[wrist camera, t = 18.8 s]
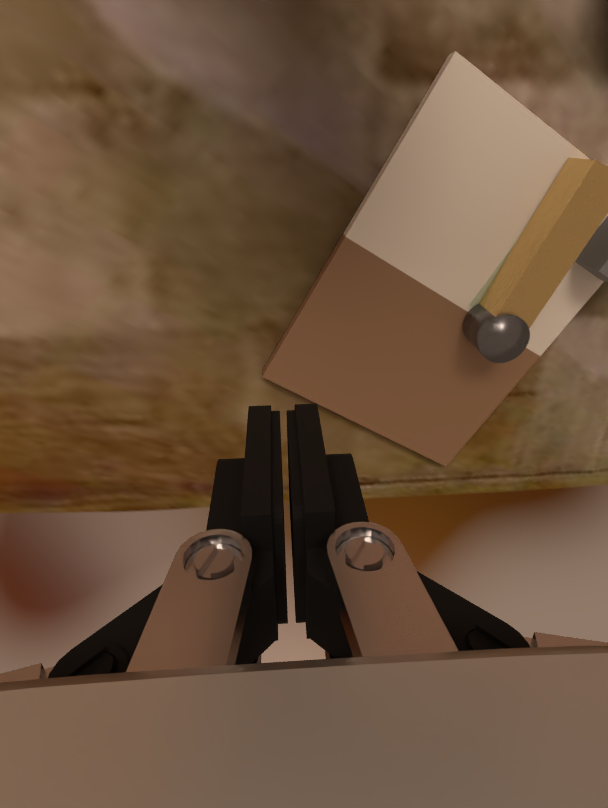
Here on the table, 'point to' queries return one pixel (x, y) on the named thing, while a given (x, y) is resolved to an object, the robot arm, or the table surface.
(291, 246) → the table surface
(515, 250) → the bar
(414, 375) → the door panel
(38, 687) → the robot arm
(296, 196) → the table surface
